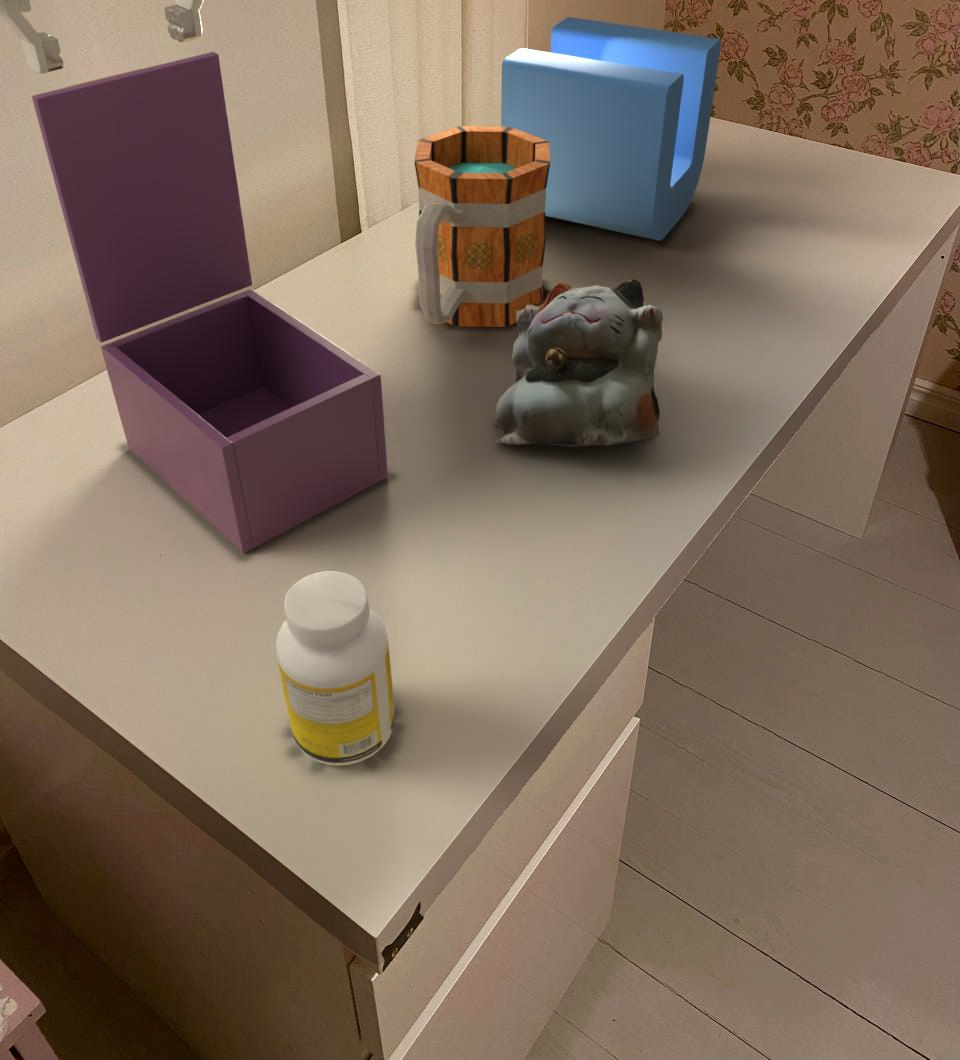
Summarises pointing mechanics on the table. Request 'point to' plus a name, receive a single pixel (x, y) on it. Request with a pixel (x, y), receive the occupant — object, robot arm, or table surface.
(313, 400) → the box
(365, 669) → the pill bottle
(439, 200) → the wooden beer tankard
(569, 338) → the lucky cat figurine
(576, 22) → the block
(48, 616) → the table surface
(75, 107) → the lid
